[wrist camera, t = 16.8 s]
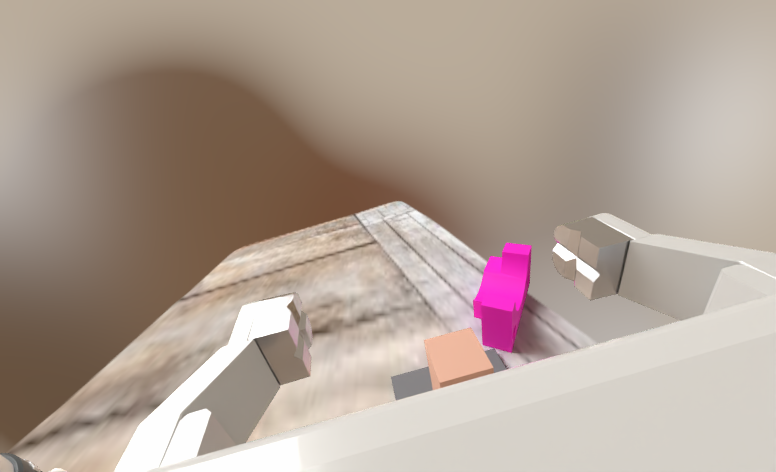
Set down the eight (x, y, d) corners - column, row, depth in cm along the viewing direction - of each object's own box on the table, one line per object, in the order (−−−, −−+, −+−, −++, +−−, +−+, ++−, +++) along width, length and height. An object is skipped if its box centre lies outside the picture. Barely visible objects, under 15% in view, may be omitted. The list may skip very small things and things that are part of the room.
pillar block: (449, 443, 32) (439, 382, 27) (434, 399, 37) (424, 340, 32) (495, 430, 33) (493, 367, 28) (475, 387, 37) (470, 327, 32)
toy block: (490, 277, 55) (490, 241, 51) (529, 283, 52) (531, 245, 48) (464, 340, 44) (461, 300, 41) (511, 353, 41) (512, 311, 38)
